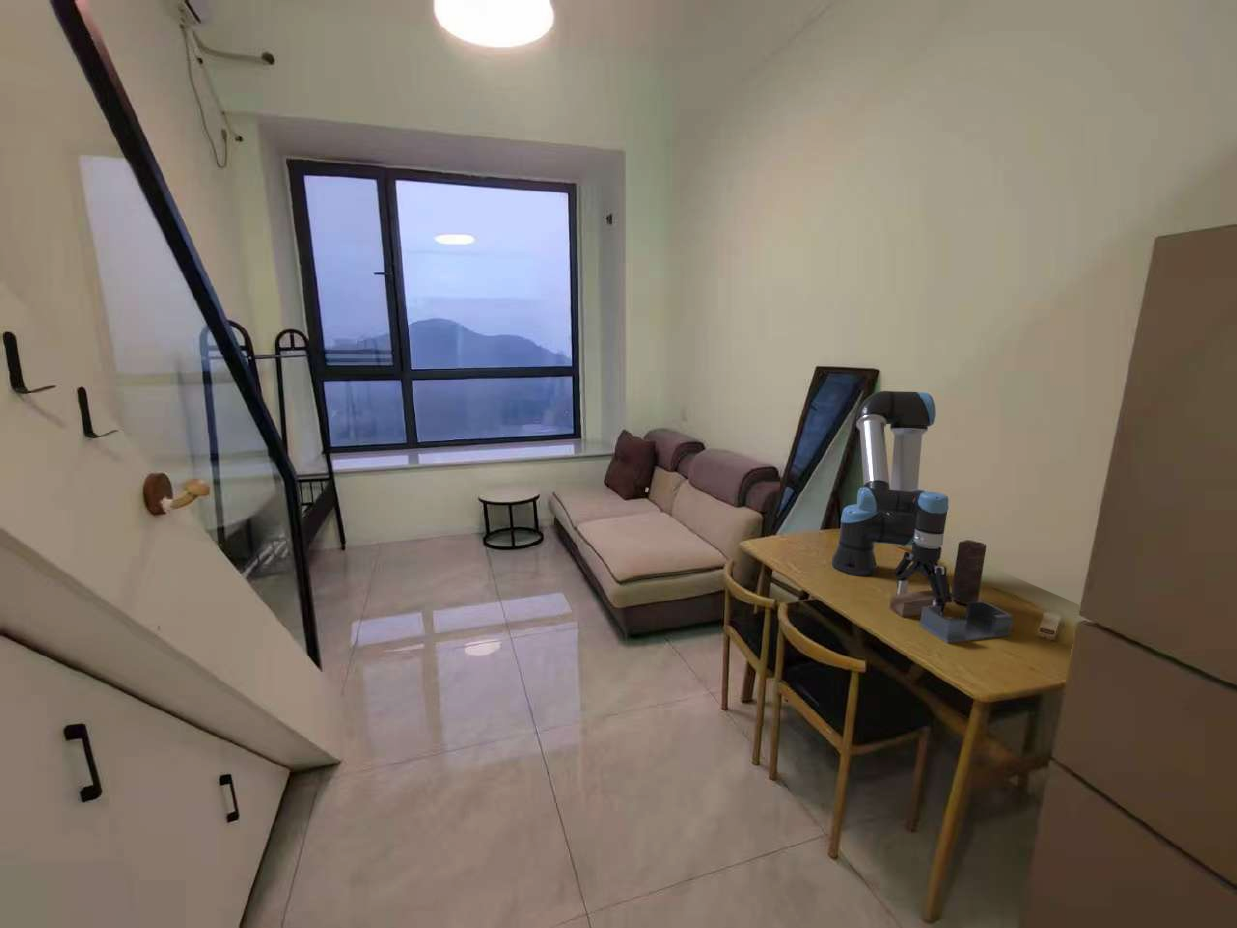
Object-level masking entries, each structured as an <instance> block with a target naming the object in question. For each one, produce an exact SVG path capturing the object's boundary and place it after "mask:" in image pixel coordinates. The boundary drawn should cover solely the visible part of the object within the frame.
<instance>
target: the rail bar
mask: <svg viewBox="0 0 1237 928" xmlns="http://www.w3.org/2000/svg"><path fill="white" fill-rule="evenodd" d="M940 597H941V596H940ZM934 600H936V598H935V595H934V593H933V591H932V589H931V590H922V591H921V590H920V591H912V592H907V593H904V594H898V593H897V594H891V596H890V601H889V602H890V604H889V610H890V611H891V612H893V613H894V614H896V615H898V616H899V617H901V618H906V617H913V616H921V614H922V607H923V606H930V605H933V601H934ZM946 606H947V602H946V603H945V605H944V611H943V612H945V611H946Z"/></svg>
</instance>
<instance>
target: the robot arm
mask: <svg viewBox="0 0 1237 928" xmlns="http://www.w3.org/2000/svg"><path fill="white" fill-rule="evenodd" d="M935 419H936V403H935V400H934V398H933V397H932V395H931V394H930V393H928V392H921V391H901V390H900V391H897V390H896V391H895V390H894V391H892V390H881V391H876V392H874V393H872V394H870V395H869V396H867V398H865V399H864V400H863V401H862V402H861V404H860V406H859V408H858V409H857V413H856V415H855V423H856V426H855V427H856V428H857V429H858V430H859V439H860V453H861V466H862V480H863V487H860V488H858V491H857V494H856V504H855V503H854V504H851V505H847V506H845V507H844V508H843V510H842V514H841V518H840V530H839V539H838V545H837V547H836V549H835V552H834V553H833V556H832V558H831V562H830V564H831V566H832V567H833V568H834V569H835V570H837V571H839V572H842V573H844V574H845V573H846V574H847V575H848V574H849V575H853V576H872V575H874V574H876V573H877V570H878V569H877V568H878V565H877V560H876V555H875V551H874V550H875V548H874V547H875V544H884V545H885V544H886V545H895V546H897V545H898V546H903V547H911V551H905V552H904V554H903V558H902V559H901V561H900V562H899V564H898V565H897V567H896V568H895V570H894V572H893V576H895V577H896V578H897V587H896V588H897V594H904V593H908V587H909V580H908V578H910V577H912V575H913V574H915V573H918V574H921V575H922V576H924V577H925V579H926V580H928V583H929V586H930V588H931V590H932V591H933V593H934V595H935V598H936V600H934V601H933V605H940V606H942V607H941V613H940V615H942V613H943V612H945V611H944V605H945V603H946V604H947V603H952V602H953V598H952V597H951V590H950V585H949V580H948V576H947V567H946V566H939V564H938V561H939V560H940V559H941V555H942V554H941V553H942V546H943V543H944V542H943V541H944V534H945V529H946V528H945V527H946V521H947V516H948V515H947V514H948V510H949V496H948V495H946V494H945V493H940V492H935V491H925V490H922V489H919V478H920V477H919V476H920V467H921V466H920V465H921V451H922V443H923V442H922V441H923V439H922V438H923V435H925V434H926V433H927V432H928V429H929V427H931V426H933V425H934V423H935ZM887 425H890V427H889V428H890V429H889V430H890V432H892V434H893V436H894V437H893V450H892V462H891V472H890V473H891V474H890V475H891V476H889V468H888V465H889V464H888V456H887V446H886V436H885V428H886V426H887ZM889 477H890V478H889ZM940 596H941V597H940Z"/></svg>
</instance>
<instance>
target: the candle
mask: <svg viewBox="0 0 1237 928" xmlns="http://www.w3.org/2000/svg"><path fill="white" fill-rule="evenodd" d="M986 553H987V544H985V543H982V542H979V541H978V542H977V541H974V540H969V539H968V540H966V539H965V540H963V541H960V542H959V543H958V548H957V554H956V559H955V566H954V573H953V579H952V586H951V590H950V593H951V597H952V600H954V601H956V602H958V603H961V604H965V605H967V602H971V601H979V597H980V593H981V592H980V591H981V583H982V577H983V571H984V564H985V557H986Z"/></svg>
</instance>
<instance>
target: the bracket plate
mask: <svg viewBox="0 0 1237 928" xmlns="http://www.w3.org/2000/svg"><path fill="white" fill-rule="evenodd" d="M941 607H942V606H940V605H930V606H923V607H922V614H921V615H920V621H919V623H918V625H919V627H921V628H923V629H925V630H926V631H928V632H929V633H931V634H933V635H934V636H935V637H936V638H939V639H940V640H941V641H943V642H944V643H946V644H950V643H951V644H952V643H960V642H970V641H978V640H986V639H987V640H988V639H993V638H996V639H997V638H1003V637H1010V636H1011V634H1012V633H1011V628H1012V623H1013V617H1014V616H1013V615H1012V614H1011V613H1009V612H1007V611H1005V610H1003V609H1001V608H999V607H997V606H995V605H993V604H991V603H989V602H987V601H985V600H984V599H983V600H978V601H971V602H967V604H966V607H965V615H964V616H961V617H955V618H954V617H952V618H947V617H946V616H943V615H942V614H941V615H940V613H941Z"/></svg>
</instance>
